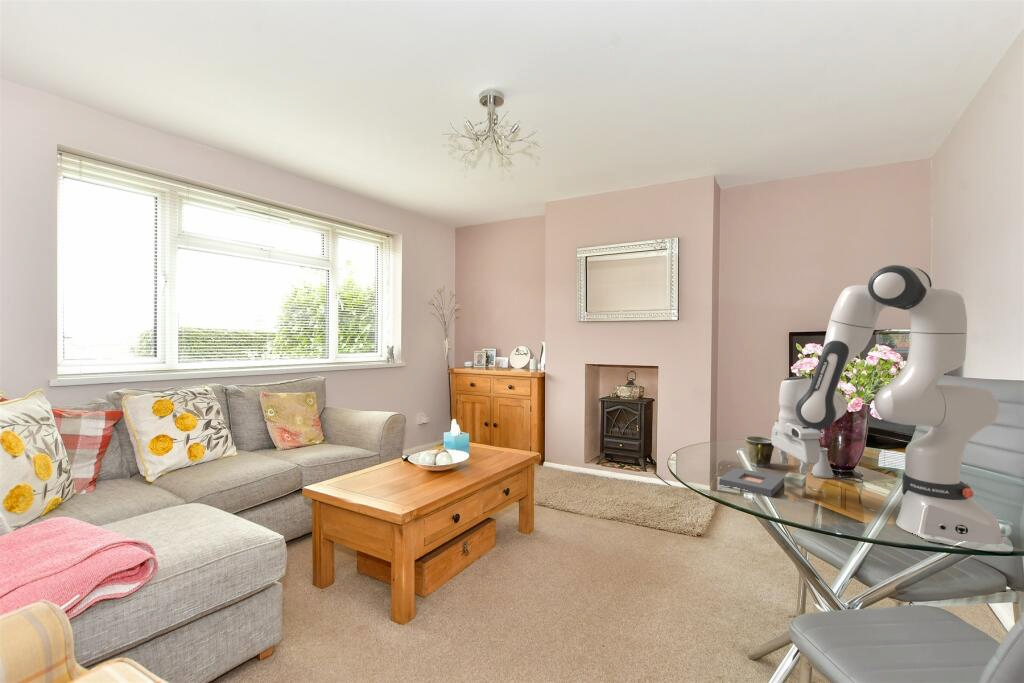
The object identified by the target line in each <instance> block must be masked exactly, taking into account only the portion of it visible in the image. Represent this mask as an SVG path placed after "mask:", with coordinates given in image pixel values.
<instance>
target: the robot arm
mask: <svg viewBox="0 0 1024 683" xmlns="http://www.w3.org/2000/svg"><path fill="white" fill-rule="evenodd" d="M932 285H933V284H932V280H931V278H930V275H929V274H928V273H927V272H926V271H924V270H922V269H920V268H918V267H914V266H911V265H905V264H898V265H896V264H894V265H887V266H883V267H882V268H879V269H878V270H877V271H875V272H874V273H873V274H872V276H871V277H870V278H869V281H868V285H866V284H865V285H864V284H855V285H849V286H847V287H845V288H844V289H843V290H842V291H841V293H840V294H839V296H838V298H837V300H836V301H835V304H834V307H833V309H832V311H831V313H830V314H831V315H830V318H829V320H828V324H827V328H826V333H825V337H824V342H823V346H822V351H821V355H820V357H819V360H818V363H817V366H816V368H815V371H814V375H813V377H812V379H811V378H810V377H808V376H802V375H797V376H790V377H787V378H784V379H783V380H782V381H781V383H780V387H779V393H778V394H779V395H778V405H779V413H778V419H777V420H776V421H774V425H773V426H772V430H771V435H770V436H771V443H772V445H773V446H774V448H777V450H778V454H779V456H780V463H782V464H784V465H785V464H786V465H787V464H789V457H788V456H787V454H788V455H790V456H791V457H793V458H795V459H797V460H799V464H800V466H797V472H798V474H800V475H806V474H807V469H808V468H809V466H810V465H815V464H817V463H818V462H819V459H820V448H821V444H820V441H819V439H821V436H822V434H821V430H823V429H827V428H828V427H830V426H831V425H832V424H833V423H835V422H836V421H837V420H839V419H840V418H842V417H843V416H844V415H845V414H846V413H847V411H848V408H849V406H848V405H849V404H848V401H847V398H846V397H845V396H844V394H842V393H841V392H840V391H838V386H839V384H840V381H841V378H842V375H843V373H844V371H845V369H846V367H847V366H848V365H849V364H850V363H851V362H852V361H853V360H854V358H856V357H857V356H859V354H861V353H862V352H863V351H864V350H865V349H866V348H867V345H868V344H869V342H870V341H871V338H872V336H873V333H874V331H875V328H876V324H877V321H878V318H879V316H880V314H881V312H882V311H883V310H884V309H886V308H887V307H889V308H890V307H891V308H896V309H900V310H903V311H907V312H908V314H909V316H910V328H909V329H910V331H909V343H908V344H909V346H908V352H907V358H906V362H905V364H904V366H903V368H902V369H901V371H900V372H899V374H898V375H897V376H896V377H895V378H894V379H893V380H891V381H890V382H889V383H887V384H885V385H883V386H882V387H881V388H880V389H879V390H878V391H877V392H876V394H875V396H874V400H873V401H874V402H873V403H874V409H875V411H876V413H877V415H878V416H879V417H880V418H881V419H882V420H883V421H886V422H888V423H893V424H899V425H904V426H918V427H919V426H922V427H930V429H929V431H927V433H926V434H925V435H922V436H921V437H919V438H916V439H913V440H912V441H910V442H909V443H908V444H907V446H906V447H905V453H904V454H905V457H904V472H903V474H902V477H901V492H902V501H901V504H900V509H899V513H898V515H897V518H896V521H895V524H896V525H897V526H898V527H899V528H900V529H902V530H903V531H906V532H908V533H910V534H912V533H913V535H915V534H916V535H915V536H917V535H918V536H920V537H922V538H925V539H929V540H935V541H947V542H953V543H955V542H963V541H968V542H978V543H985V544H997V545H998V544H1002V543H1003V542H1004V541H1007V538H1003V537H1008V536H1006V534H1004V533H1002V530H1001V527H1000V522H999V521H998V519H997V518H996V516H995V515H994V514H993V513H992V512H990V511H989V510H988V509H986V508H984V507H983V506H982V505H981V504H979V503H978V502H977V501H975V500H973V499H972V497H974V490H972V489H971V488H972V487H971V486H969V484H968V483H965V482H963V481H961V468H962V461H963V455H964V451H965V449H966V448H967V445H968V444H969V443H970V441H971V440H972V439H973V437H974V436H975V435H977V433H979V432H980V431H982V430H983V429H985V428H987V427H989V426H991V425H992V424H994V423H995V421H996V420H997V419H998V417H999V414H1000V409H1001V408H1000V403H999V401H998V399H997V397H996V396H995V395H994V394H993V393H992V392H991V391H990V390H988V389H984V388H982V387H981V388H980V387H975V386H969V385H965V384H964V385H962V384H961V385H959V384H955V385H953V384H938V382H939V380H940V379H941V378H942V377H943V376H944V375H945V374H947V373H949V372H951V371H955V370H956V369H959V368H960V367H961V366H963V364H964V363H965V361H966V355H967V353H966V352H967V336H968V321H967V320H968V319H967V318H968V317H967V310H966V303H965V299H964V298H963V296H962V295H961V294H960V293H958V292H956V291H954V290H951V289H943V288H932ZM918 536H917V537H918ZM920 537H919V538H920Z"/></svg>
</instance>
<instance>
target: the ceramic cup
mask: <svg viewBox="0 0 1024 683" xmlns="http://www.w3.org/2000/svg"><path fill="white" fill-rule="evenodd" d="M745 440H746V447H747V451H748V457H749V462H750V465H751V464H752V465H751V466H753V465H754V466H753V467H756V468H762V469H763V468H769V467H770V465H771V461H772V458H773V457H772V456H773V452H774V448H775V446H773V445H772V443H771V438H770V437H766V436H753V435H752V436H751V435H750V436H747V437H745Z"/></svg>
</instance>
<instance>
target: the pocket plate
mask: <svg viewBox="0 0 1024 683" xmlns="http://www.w3.org/2000/svg"><path fill="white" fill-rule="evenodd" d="M718 485H724V486H730V487H737V488H740V489H745V490H748V491H751V492H754V493H759V494H762V495H761V496H763V495H764V496H763V497H769V498H772V497H773V496H774V495H775V494H776V493H777V492H778V491H779V490H780V489H781V488H782V487H783V486H785V476H780V475H775V474H771V473H765V472H758V471H754V470H749V469H744V468H740V467H734V468H732V469H731V470H729V471H728V472H727V473H725V474H724V475H723V476H721V477H720V478H719V484H718ZM754 493H753V494H754ZM759 494H758V495H759Z"/></svg>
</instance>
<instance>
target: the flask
mask: <svg viewBox="0 0 1024 683" xmlns="http://www.w3.org/2000/svg"><path fill="white" fill-rule="evenodd" d="M828 451H829V448H827V447H820V459H819V462H818V463H817V464H813V467H812V469H811V472H810V474H811V473H812V474H813V475H812V477H814V476H815V477H816V478H820V479H827V478H832V477H833V475H834V471H833V470H832V467H831V464H830V461H829V458H828ZM834 476H835V475H834ZM815 477H814V478H815ZM832 479H833V478H832Z"/></svg>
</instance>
